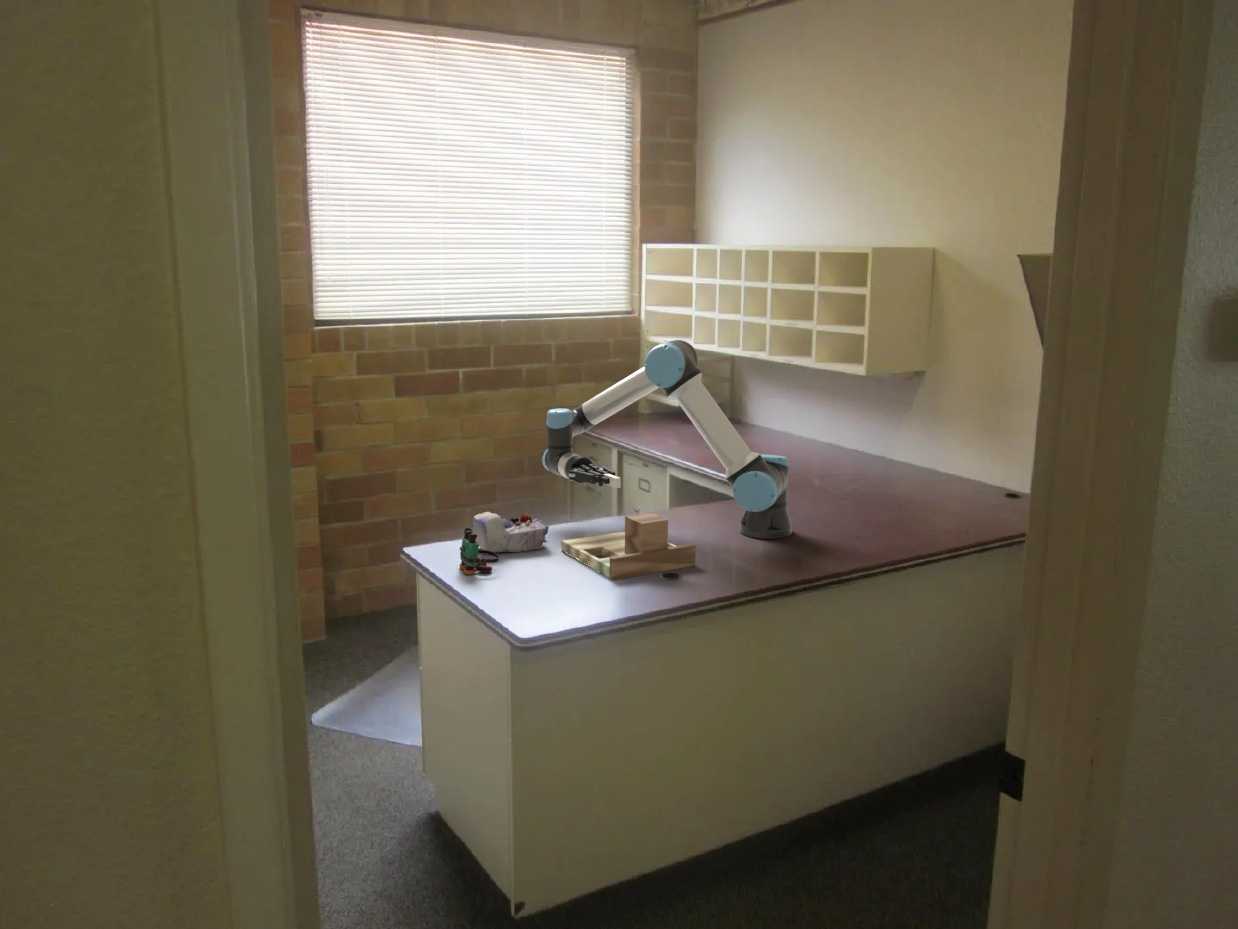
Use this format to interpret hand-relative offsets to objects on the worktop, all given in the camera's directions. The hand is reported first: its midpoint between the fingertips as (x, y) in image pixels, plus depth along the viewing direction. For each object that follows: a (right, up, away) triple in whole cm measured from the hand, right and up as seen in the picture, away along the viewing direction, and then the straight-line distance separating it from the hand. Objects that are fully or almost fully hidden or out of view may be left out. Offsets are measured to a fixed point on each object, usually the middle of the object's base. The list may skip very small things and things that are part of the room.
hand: (618, 483), depth 269 cm
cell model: (-29, -18, +7) cm, 35 cm away
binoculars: (-36, -22, -12) cm, 44 cm away
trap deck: (+2, -20, -1) cm, 20 cm away
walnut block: (+7, -19, -8) cm, 22 cm away
